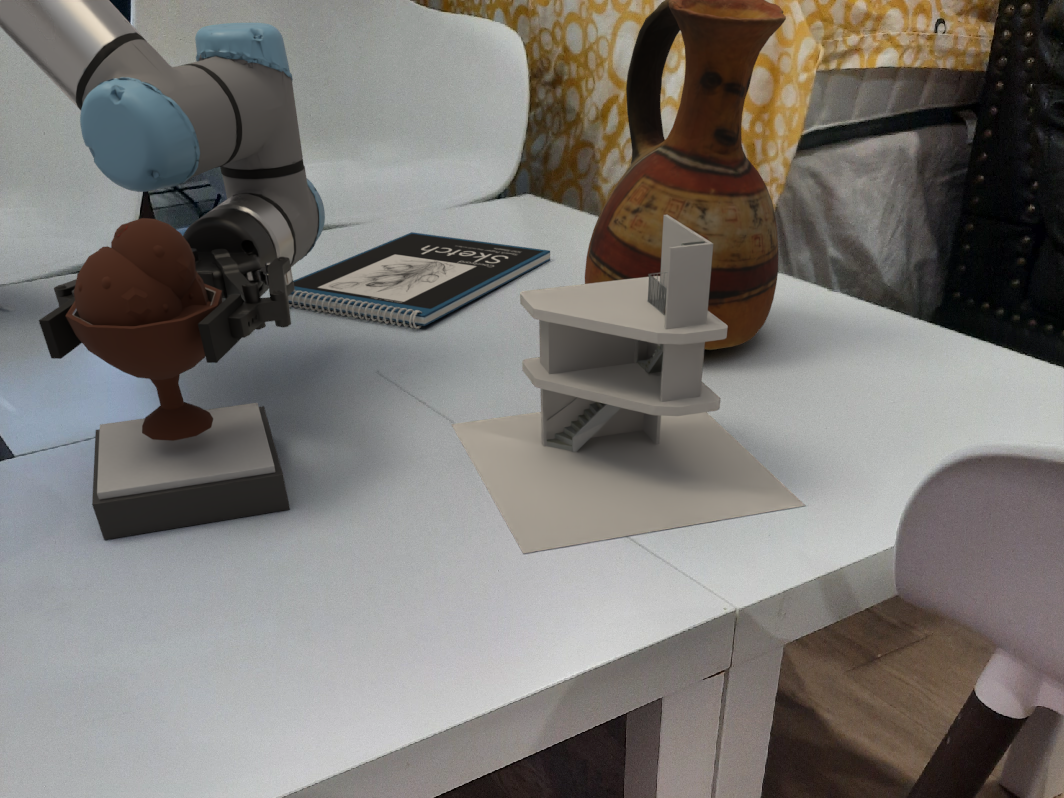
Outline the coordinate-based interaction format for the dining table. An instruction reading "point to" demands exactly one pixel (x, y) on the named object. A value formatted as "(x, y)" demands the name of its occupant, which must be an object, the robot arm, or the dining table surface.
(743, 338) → the ceramic pitcher
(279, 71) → the robot arm
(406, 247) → the sketchbook
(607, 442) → the architectural model
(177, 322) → the ice cream bowl
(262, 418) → the scale
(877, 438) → the dining table surface
